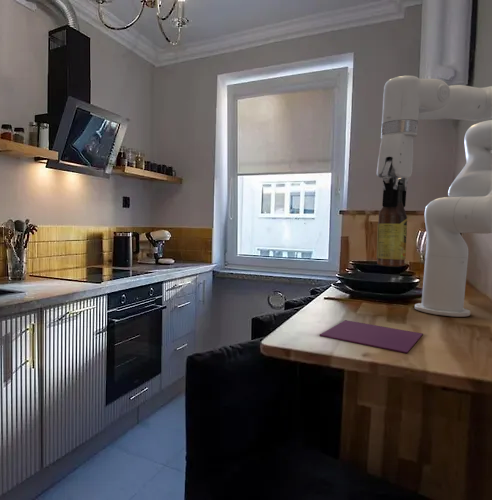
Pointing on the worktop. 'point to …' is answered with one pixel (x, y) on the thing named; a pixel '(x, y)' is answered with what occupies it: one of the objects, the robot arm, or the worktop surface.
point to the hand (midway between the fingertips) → (393, 206)
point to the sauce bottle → (392, 234)
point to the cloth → (374, 336)
